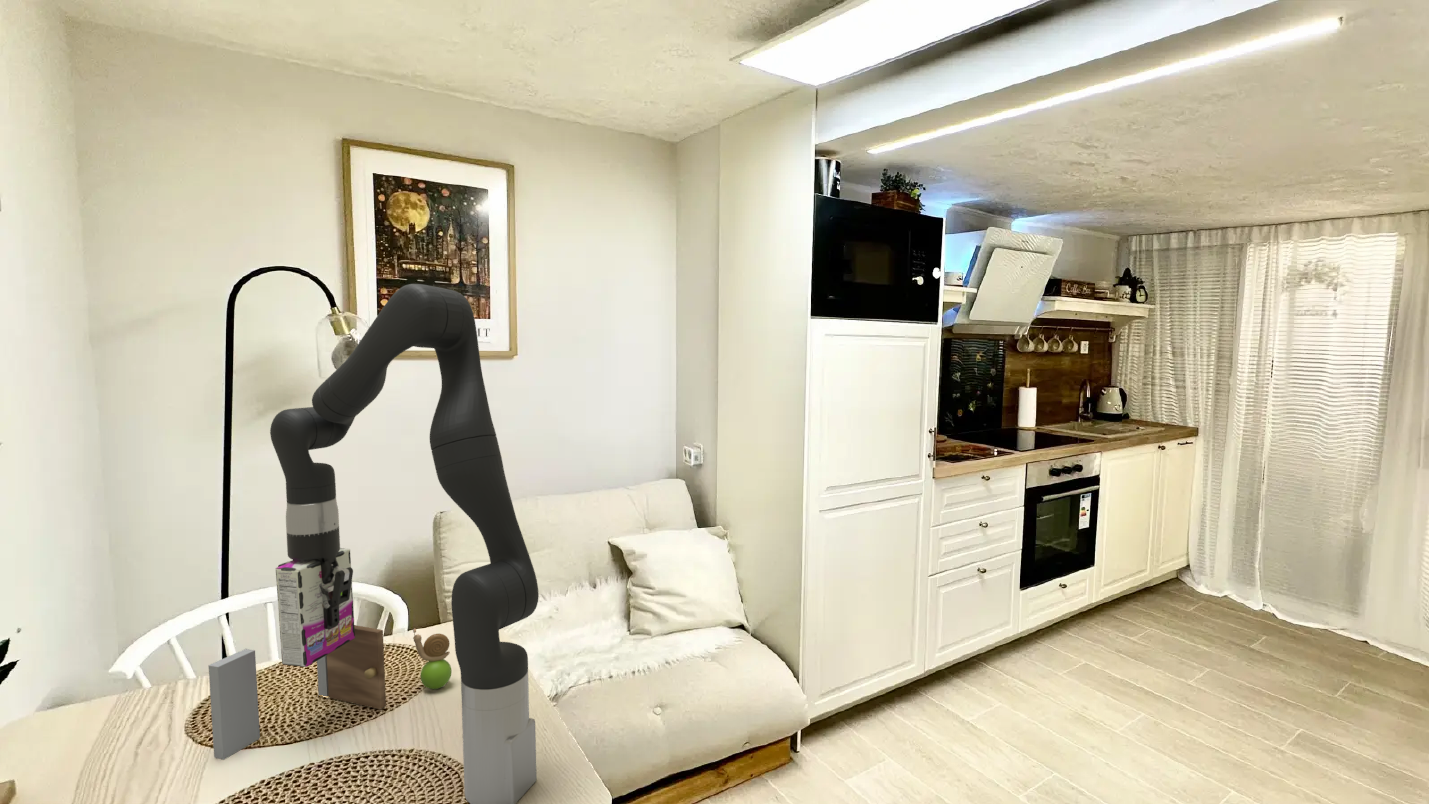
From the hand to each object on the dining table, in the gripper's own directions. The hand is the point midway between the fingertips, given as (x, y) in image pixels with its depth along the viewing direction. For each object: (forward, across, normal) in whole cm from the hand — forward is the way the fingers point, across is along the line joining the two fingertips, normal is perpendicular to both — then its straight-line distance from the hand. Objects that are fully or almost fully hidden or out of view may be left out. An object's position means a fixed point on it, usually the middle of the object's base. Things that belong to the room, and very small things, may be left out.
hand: (317, 625), depth 112 cm
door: (+17, 0, -7) cm, 19 cm away
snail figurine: (+18, -9, -16) cm, 26 cm away
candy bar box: (+5, 0, 0) cm, 5 cm away
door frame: (+18, +8, 0) cm, 19 cm away
